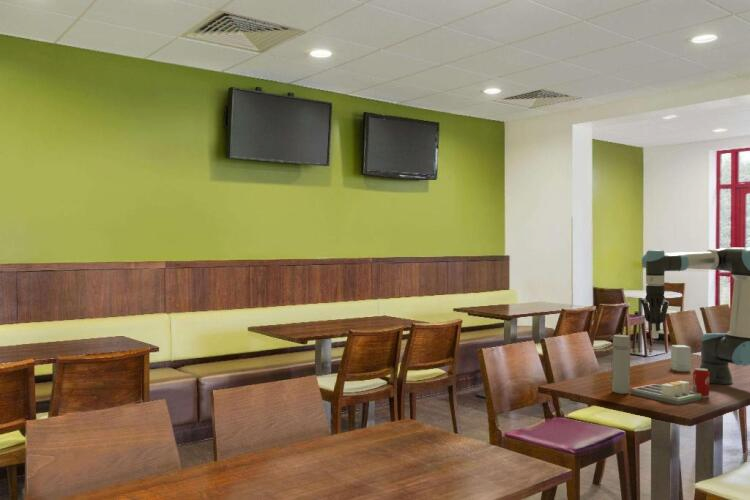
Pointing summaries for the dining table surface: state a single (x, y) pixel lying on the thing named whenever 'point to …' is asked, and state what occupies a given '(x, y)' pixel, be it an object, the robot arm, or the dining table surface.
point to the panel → (655, 393)
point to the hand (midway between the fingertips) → (655, 338)
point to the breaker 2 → (685, 386)
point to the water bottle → (620, 364)
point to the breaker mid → (677, 388)
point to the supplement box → (680, 358)
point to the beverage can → (701, 382)
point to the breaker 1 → (668, 389)
